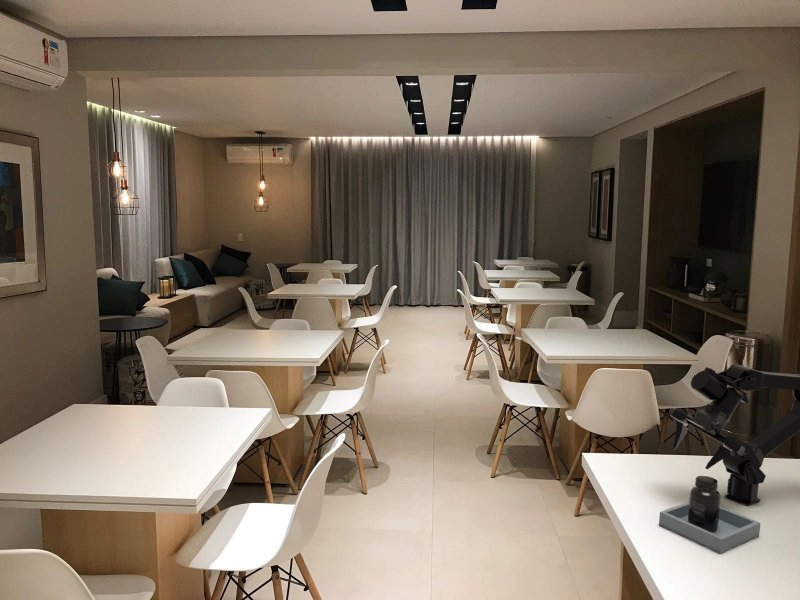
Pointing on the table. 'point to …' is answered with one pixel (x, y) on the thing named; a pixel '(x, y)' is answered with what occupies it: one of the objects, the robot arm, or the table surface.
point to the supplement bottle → (704, 504)
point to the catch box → (725, 538)
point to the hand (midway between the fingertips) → (689, 459)
